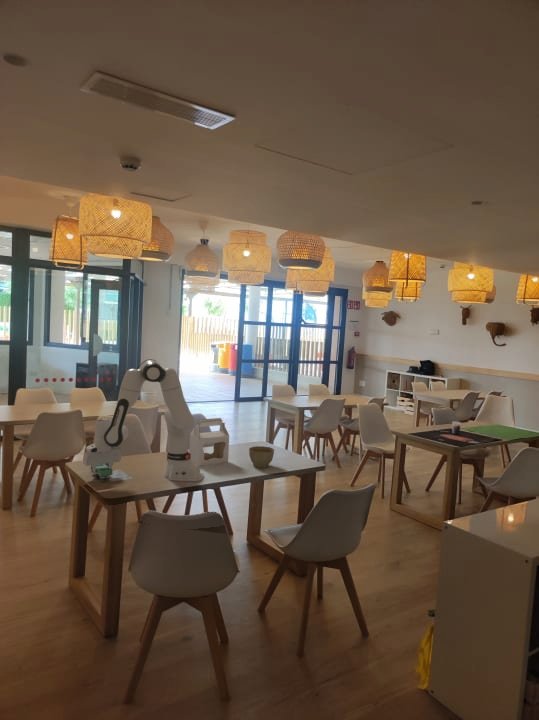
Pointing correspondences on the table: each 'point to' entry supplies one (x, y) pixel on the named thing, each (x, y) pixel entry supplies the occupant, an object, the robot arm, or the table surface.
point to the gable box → (209, 437)
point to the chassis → (113, 476)
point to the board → (103, 470)
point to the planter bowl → (261, 456)
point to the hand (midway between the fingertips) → (102, 471)
